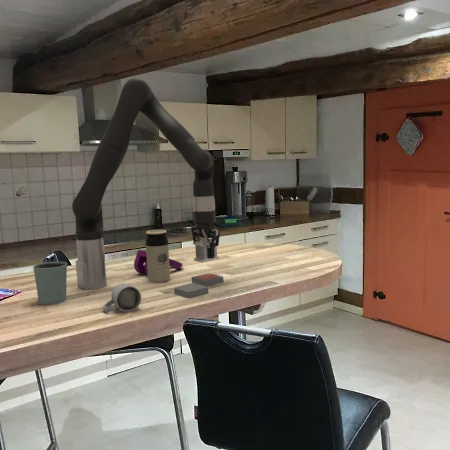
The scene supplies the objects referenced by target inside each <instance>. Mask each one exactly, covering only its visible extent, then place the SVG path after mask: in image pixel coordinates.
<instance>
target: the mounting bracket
mask: <svg viewBox="0 0 450 450" xmlns="http://www.w3.org/2000/svg"><path fill="white" fill-rule="evenodd" d="M183 264H184V263H182V262H179V261H176V260H174V259H172V258H169V267H170V268H171V267H172V268H175V269H179V270H182V267H183ZM133 267H134V271H135V272H137V274H140V275H147V276H148V270H147V254H146V250H142V249H138V250H137V252H136V256H135V259H134V262H133Z"/></svg>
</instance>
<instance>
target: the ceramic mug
mask: <svg viewBox="0 0 450 450" xmlns="http://www.w3.org/2000/svg"><path fill="white" fill-rule="evenodd" d="M110 295H111V299H110V300H108V301H107V302H106V303H104V304H103V305H102V309H103V311H104V313H106V314H107V313H111V312H113V311H115V310H117V309H119V310H120V311H122V312H125V313H130V312H133V311H135V310H137V309H138V308H139V306H140V304H141V301H142V294H141V292H140V289H138V288H137V287H136V286H133V285H131V284H129V283H125V282H124V283H123V282H122V283H118V284H117V285H115V286H114V287H113V288H112V290H111V294H110Z"/></svg>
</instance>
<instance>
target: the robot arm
mask: <svg viewBox="0 0 450 450" xmlns="http://www.w3.org/2000/svg"><path fill="white" fill-rule="evenodd" d="M139 113H142V114H143V115H144V116H145V117H147V119H149V120H150V121H151V122H152V123H153V124H154V125H155V126H156V128H157V129H158V130H159V131H160V133H161V134H162V135H163V136H164V138H165V139H166V140H167V141H168V142H169V144H170V145H171V146H173V148H175V150H177V151H178V152H179V153H180V155H181V157H183V159H184V160H185V162H186V163H187V164H188V165H189V167H190V168H192V169H193V170H194V180H193V182H192V193H193V194H192V196H193V197H192V199H193V200H192V209H193V222H194V224H196V225H195V226H192V227H191V228H190V231H191V236H192V243H193V242H196V241H201V240H205V242H207V245H208V258H209V259H212V258H214V256H215V253H214V248H215V247H216V246H217V247H218V246H219V245H220V235H221V231H220V229H216V228H215V225H214V223H215V222H216V219H217V218H216V203H215V202H216V200H215V195H214V182H213V181H214V173H215V172H214V171H215V167H214V165H215V164H214V163H215V161H214V156H213V155H212V153H210V152H209V151H208V150H204V149H203V148H201V147H200V145H199V144H198V143H197V142H196V140H195V138H194V136H193V135H192V134H191V133H190V132H189V131H188V130H187V129H186V128H185V127H184V125H182V124H181V123H180V122H179V121H178V120H177V119H176V118H175V117H174V116H173V115H171V114H170V113H169V112H168V111H167V110H166V108H165V107H164V106H163V104H161V102H160V101H159V100H158V98H157V97H156V95H155V94H154V92H153V90H152V88H151V87H150V85H149V84H148V83H147V82H146V81H145V80H144V79H142V78H141V77H140V78H139V77H132V78H129V79H128V80H127V81H126V82H125V83H124V85H123V87H122V88H121V91H120V95H119V97H118V101H117V104H116V107H115V110H114V113H113V115H112V117H111V119H110V120H109V123H108V125H107V127H106V129H105V132H103V133H104V134H103V136H102V137H101V139H100V142H99V144H98V146H97V149H96V151H95V153H94V155H93V158H92V162H91V164H90V167H89V171H88V173H87V176H86V179H85V181H84V183H83V184H82V186H81V187H80V189H79V191H78V193H77V194H76V196H75V197H74V199H73V201H72V203H71V208H72V212H73V214H74V216H75V243H76V255H77V259H76V260H75V271H76V281H77V288H79V289H81V290H84V291H85V290H86V291H88V290H96V289H101V288H104V287H106V286H107V285H108V284H107V283H108V282H107V280H108V279H107V269H106V258H105V257H106V256H105V245H104V244H105V243H104V220H103V216H104V215H103V205H102V201H103V198H104V195H105V192H106V191H107V187H108V186H109V184H110V182H111V181H112V179H113V177H114V176H115V174H116V173H117V171H119V168H120V166H121V164H122V162H123V161H124V158H125V156H126V153H127V151H128V150H129V146H130V143H131V138H132V131H133V126H134V123H135V122H136V118H137V117H138V114H139ZM215 240H216V243H215ZM210 241H211V244H210Z"/></svg>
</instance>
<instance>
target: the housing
mask: <svg viewBox="0 0 450 450" xmlns="http://www.w3.org/2000/svg"><path fill="white" fill-rule="evenodd" d="M215 243H216V240H215ZM210 244H211V241H210ZM192 245H195V247H194V248H195V257H194V258H193V261H194V262H197V263H203V264H204V263H208V262H213V261H217V260H220V256H218V248H217V247H218V246H216V247H215V248H214V253H215V256H214V258H212V259H209V258H208V245H207V242H205V240H201V241H196V242H193V241H192Z"/></svg>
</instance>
